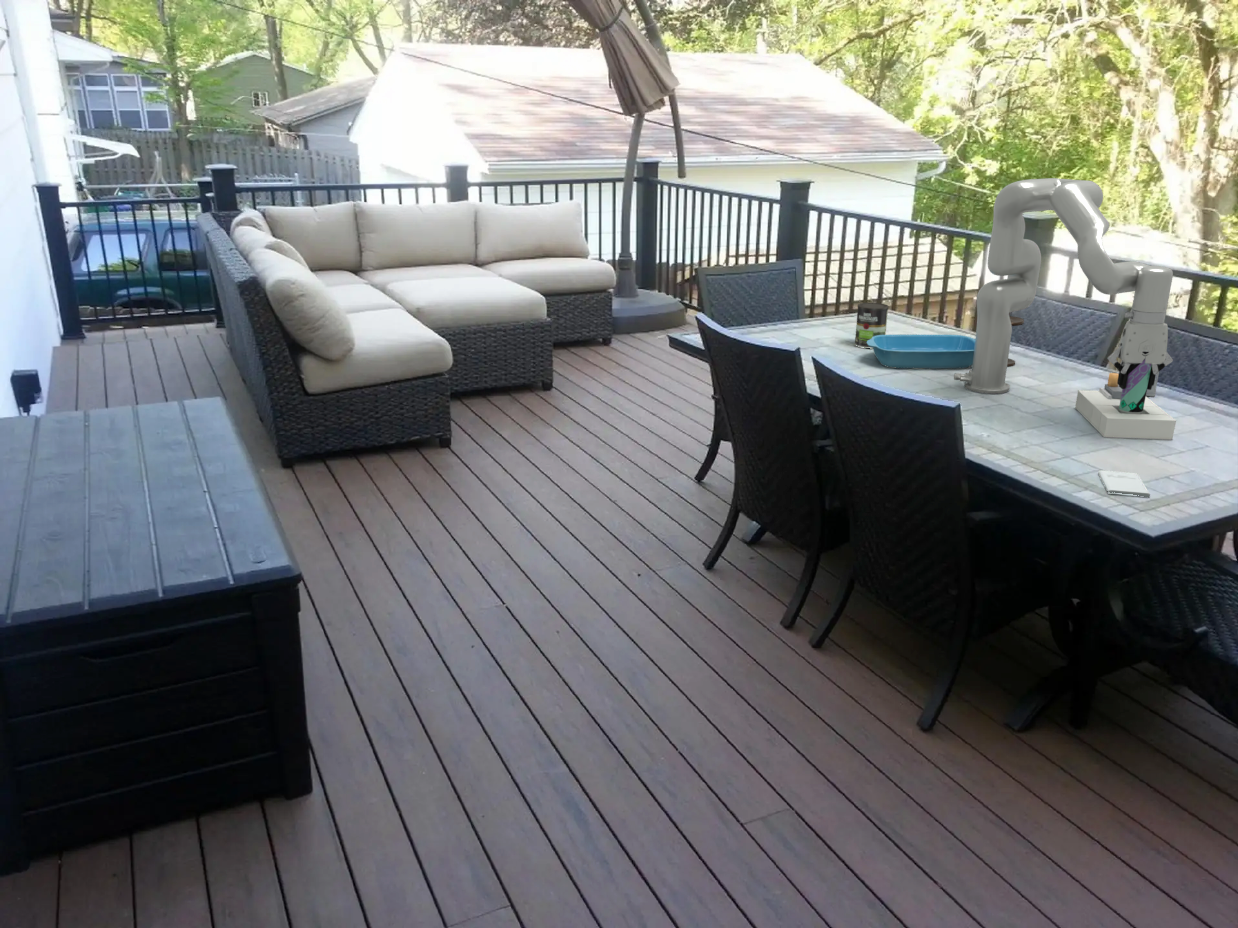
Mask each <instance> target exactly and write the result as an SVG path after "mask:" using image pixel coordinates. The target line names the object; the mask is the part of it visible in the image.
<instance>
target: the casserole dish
mask: <svg viewBox="0 0 1238 928" xmlns="http://www.w3.org/2000/svg"><path fill="white" fill-rule="evenodd" d="M975 339H976V338H973V337H972V336H967V335H961V334H960V335H959V334H886V335H877V336H873V337H872V339H870V340H868V341H867V345H868V346H869V347H872V348H873V349H872V350H873V352H874V353H873V354H874V355H875V357H876V359H877V360H878V361H879V363H880V364H881V365H882V366H884V365H886V366H888V367H887V368H891V367H896V368H895V369H911V368H925V370H927V369H928V370H929V369H932V370H933V369H935V370H936V369H937V370H939V369H943V370H944V369H945V370H946V369H947V370H948V369H951V370H952V369H954V370H955V369H956V370H957V369H967V368H970V367H972V363H973V355H974V347H975ZM886 366H885V367H886Z"/></svg>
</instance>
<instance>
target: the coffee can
mask: <svg viewBox="0 0 1238 928" xmlns="http://www.w3.org/2000/svg"><path fill="white" fill-rule="evenodd" d="M889 308H890V307H889V305H888V304H885V303H880V302H862V303H858V304H857V313H856V314H857V315H856V326H855V337H854V338H855V339H854V346H855V345H857V346H859V347H864V348H870V349H869V350H873V348H872V347H869V346H868V345H867V341H868V340H870V339H872V337H873V336H877V335H887V332H886V331H887V325H888V324H887V323H888V312H889ZM859 347H858V348H859ZM864 348H863V349H864Z"/></svg>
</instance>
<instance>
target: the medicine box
mask: <svg viewBox="0 0 1238 928" xmlns="http://www.w3.org/2000/svg"><path fill="white" fill-rule="evenodd" d="M1159 374H1160V371H1159V372H1158V374H1156V376H1155V381H1154V385H1153V386H1152V389H1151V390H1148V389H1147V392H1146V397H1147V398H1149V397H1150V398H1155V397H1156V390H1157V385H1158V380H1159Z"/></svg>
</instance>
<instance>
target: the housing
mask: <svg viewBox="0 0 1238 928" xmlns="http://www.w3.org/2000/svg"><path fill="white" fill-rule="evenodd" d="M1104 388H1105V387H1099V388H1098V389H1099V390H1080V389H1079V390H1077V395H1076V400H1075V407H1074V408H1075V409H1076V411H1078V413H1080V414H1081V415H1082V416H1083V418H1084V419H1086V420H1087V421H1088V422H1089V424H1091V426H1093V428H1095V430H1097V432H1099V434H1100V435H1101V436H1103V438H1110V439H1111V438H1114V439H1115V438H1117V439H1145V440H1170V441H1172V440H1173V438H1174V433H1175V429H1176V428H1175V427H1176V423H1177V420H1176V419H1175V418H1174V417H1172V416H1171V415H1170V414H1168V413H1167V412H1166V410H1164V409H1163V408H1161V407H1160V406H1159V405H1157V404H1156V403H1154V402H1153V401H1152V399H1150V398H1149V397H1145V403H1144V408H1143V413H1142V414H1124V413H1121V412H1119V405H1120V400H1121V399H1112V395H1110V394H1109V393H1108V392H1107V391H1106V390H1105V389H1104Z"/></svg>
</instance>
